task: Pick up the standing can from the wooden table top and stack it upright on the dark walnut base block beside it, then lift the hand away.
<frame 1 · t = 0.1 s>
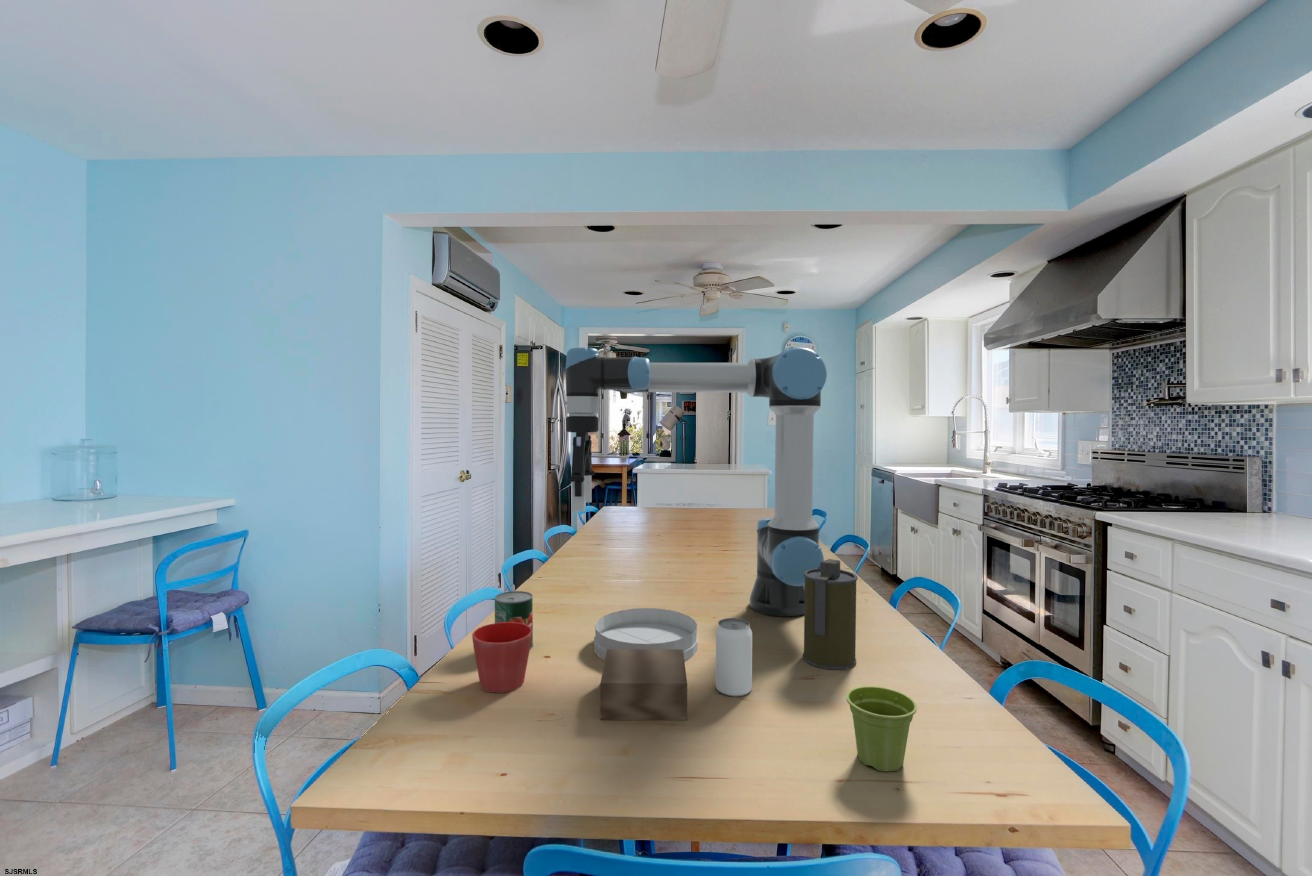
hand: (582, 506, 138), 28 cm above the table, tool pointing down, fingers open, 13 cm apart
can: (733, 690, 107), on the table
flower pot: (503, 684, 109), on the table
dish: (646, 648, 127), on the table
walnut base: (644, 699, 103), on the table
canister: (828, 660, 120), on the table
canned tomato: (513, 648, 126), on the table
plant pot: (879, 761, 85), on the table
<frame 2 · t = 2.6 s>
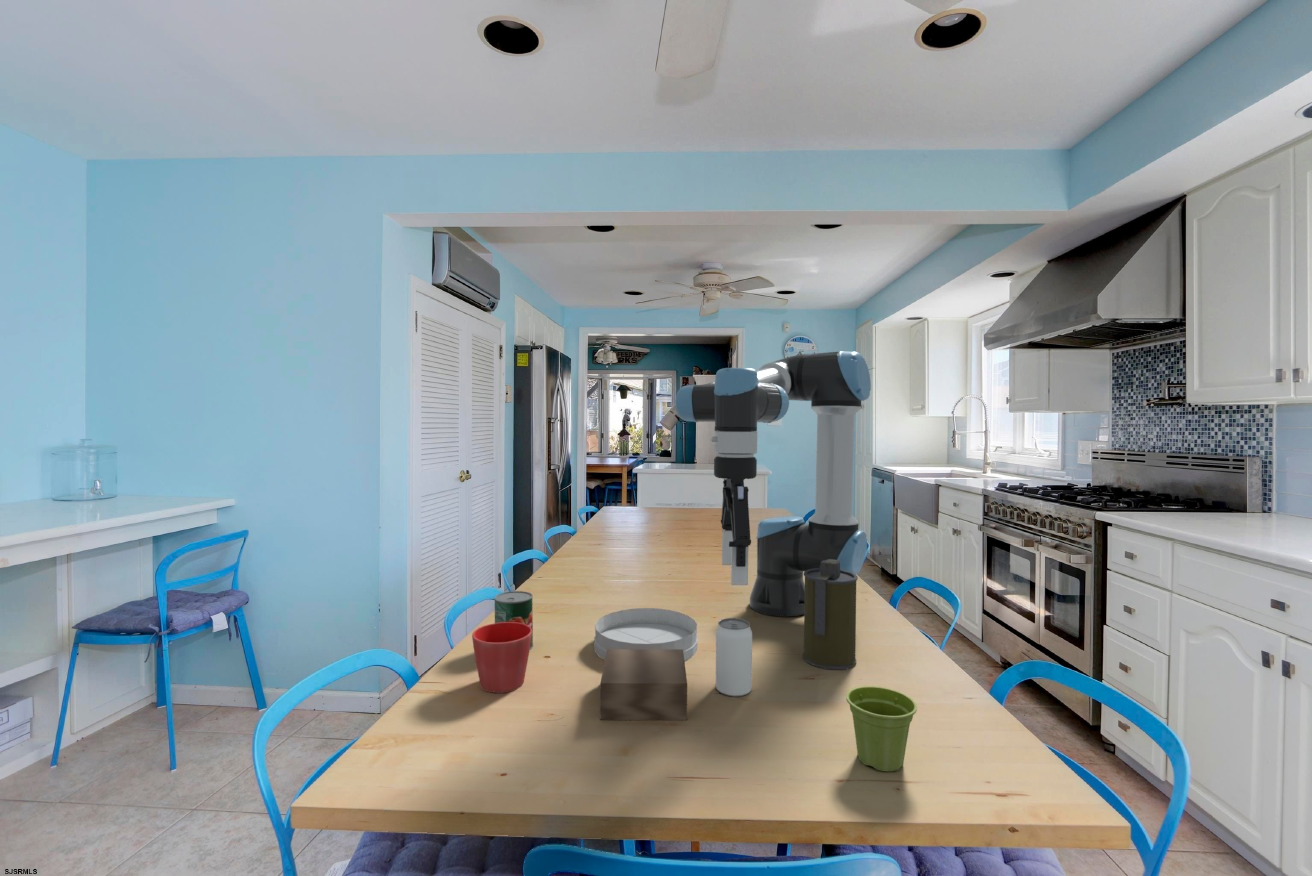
hand: (734, 574, 106), 21 cm above the table, tool pointing down, fingers open, 13 cm apart
nothing on the table moved.
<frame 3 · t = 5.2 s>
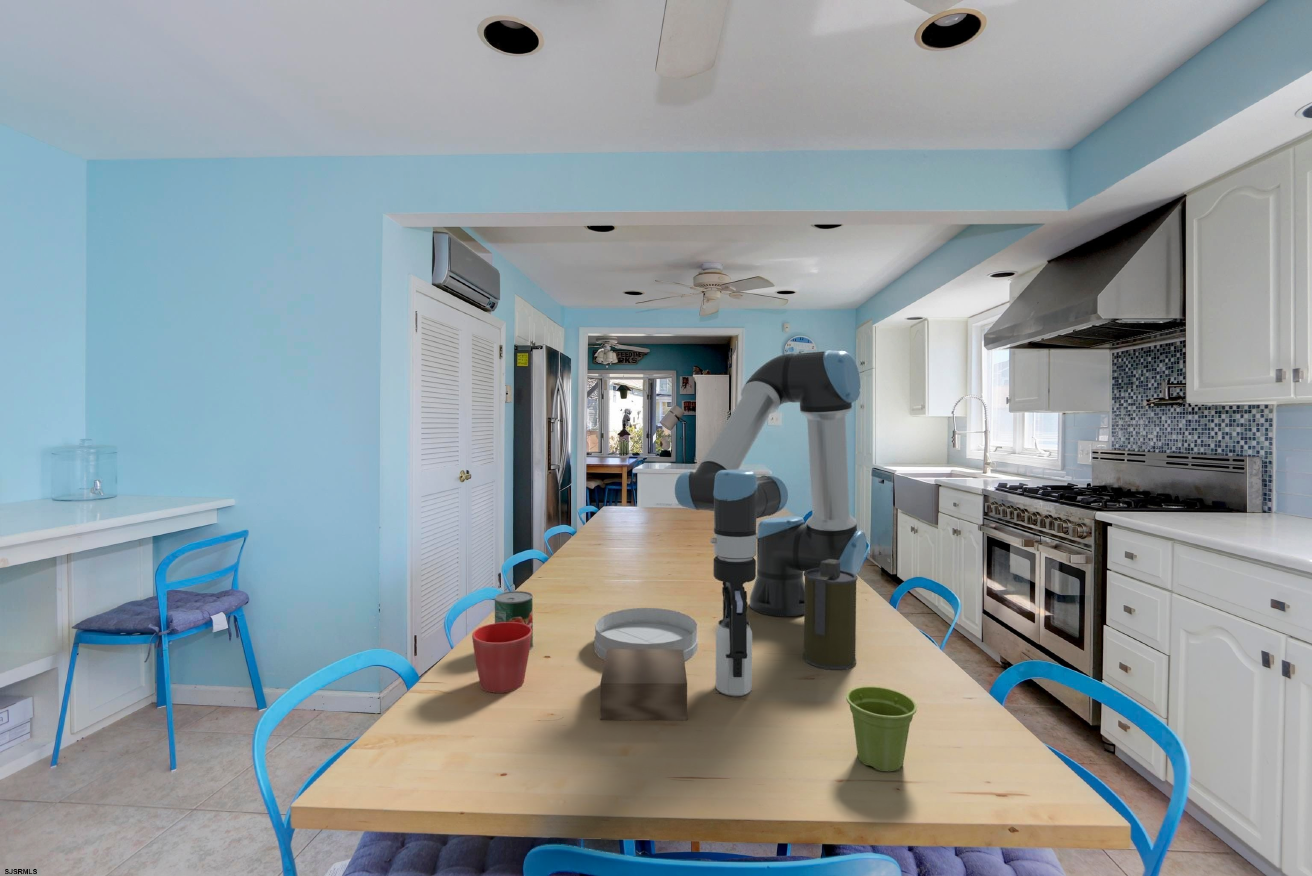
hand: (733, 683, 107), 1 cm above the table, tool pointing down, fingers closed on can, 6 cm apart
can: (733, 690, 107), on the table, touching gripper
everything else where it was.
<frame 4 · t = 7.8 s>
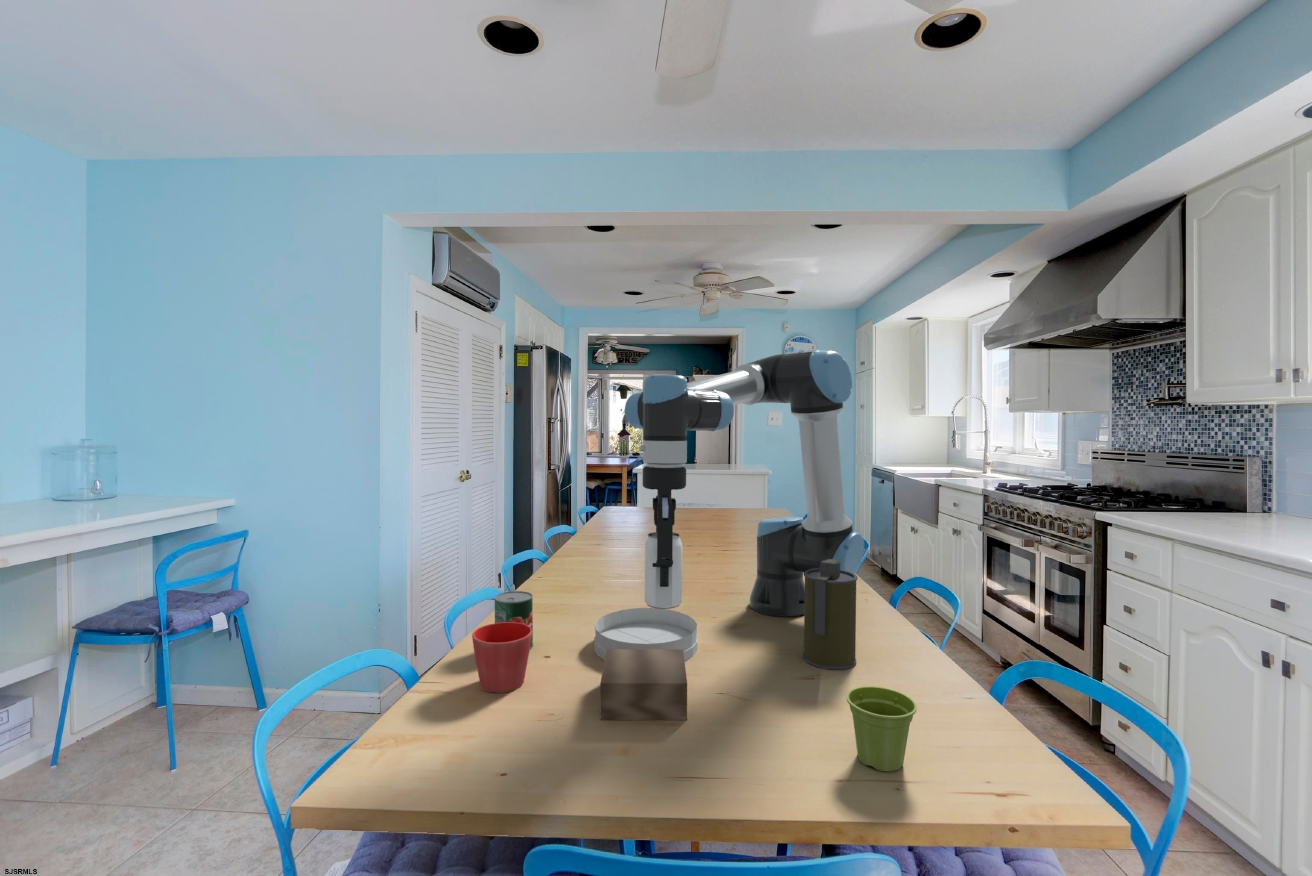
hand: (663, 598, 103), 18 cm above the table, tool pointing down, fingers closed on can, 6 cm apart
can: (663, 604, 103), point 16 cm above the table, touching gripper
everything else where it was.
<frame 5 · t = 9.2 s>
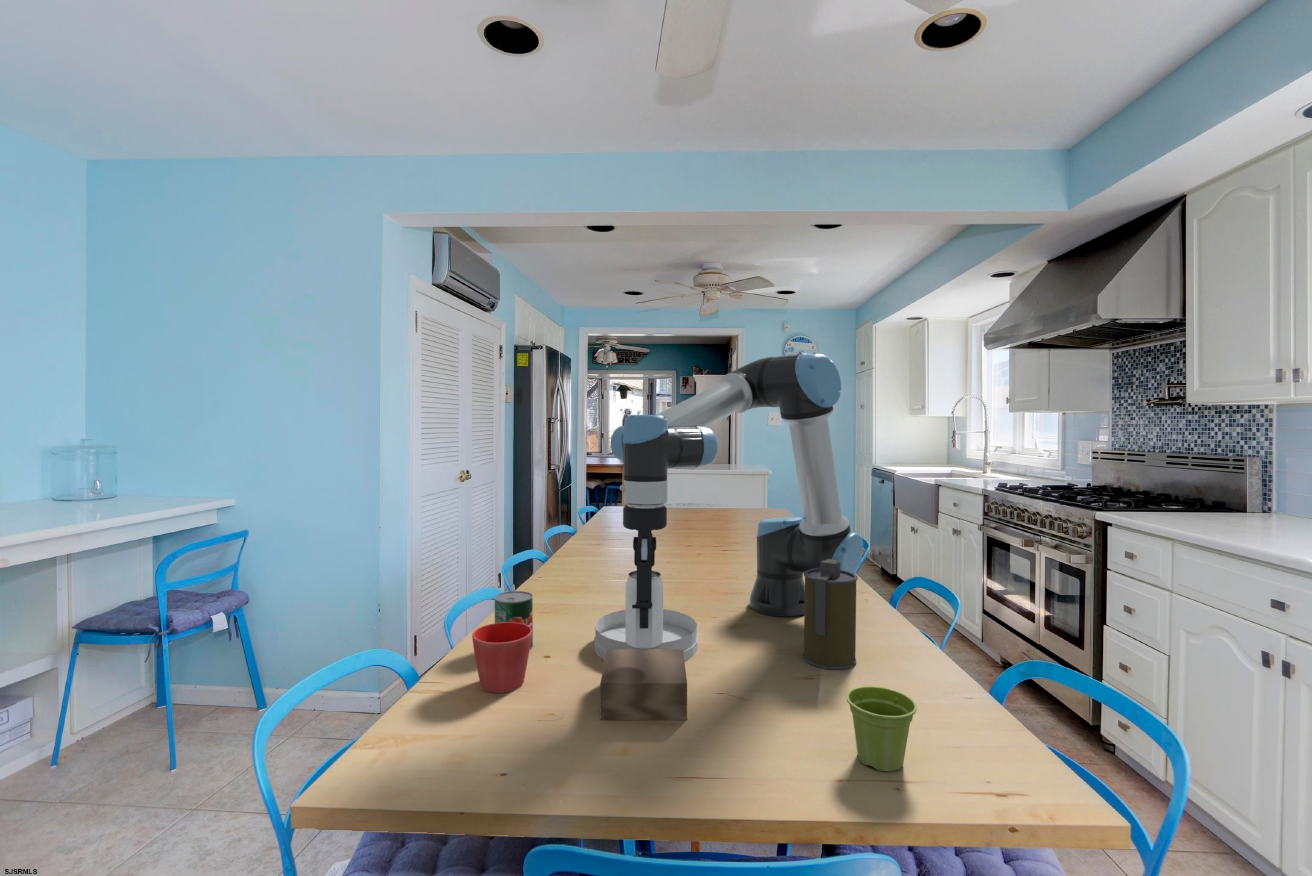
hand: (644, 637, 102), 11 cm above the table, tool pointing down, fingers closed on can, 6 cm apart
can: (644, 644, 102), point 10 cm above the table, touching gripper
everything else where it was.
when the fingers open (8 cm above the table, at t = 10.4 s): can drops 1 cm, resting on walnut base.
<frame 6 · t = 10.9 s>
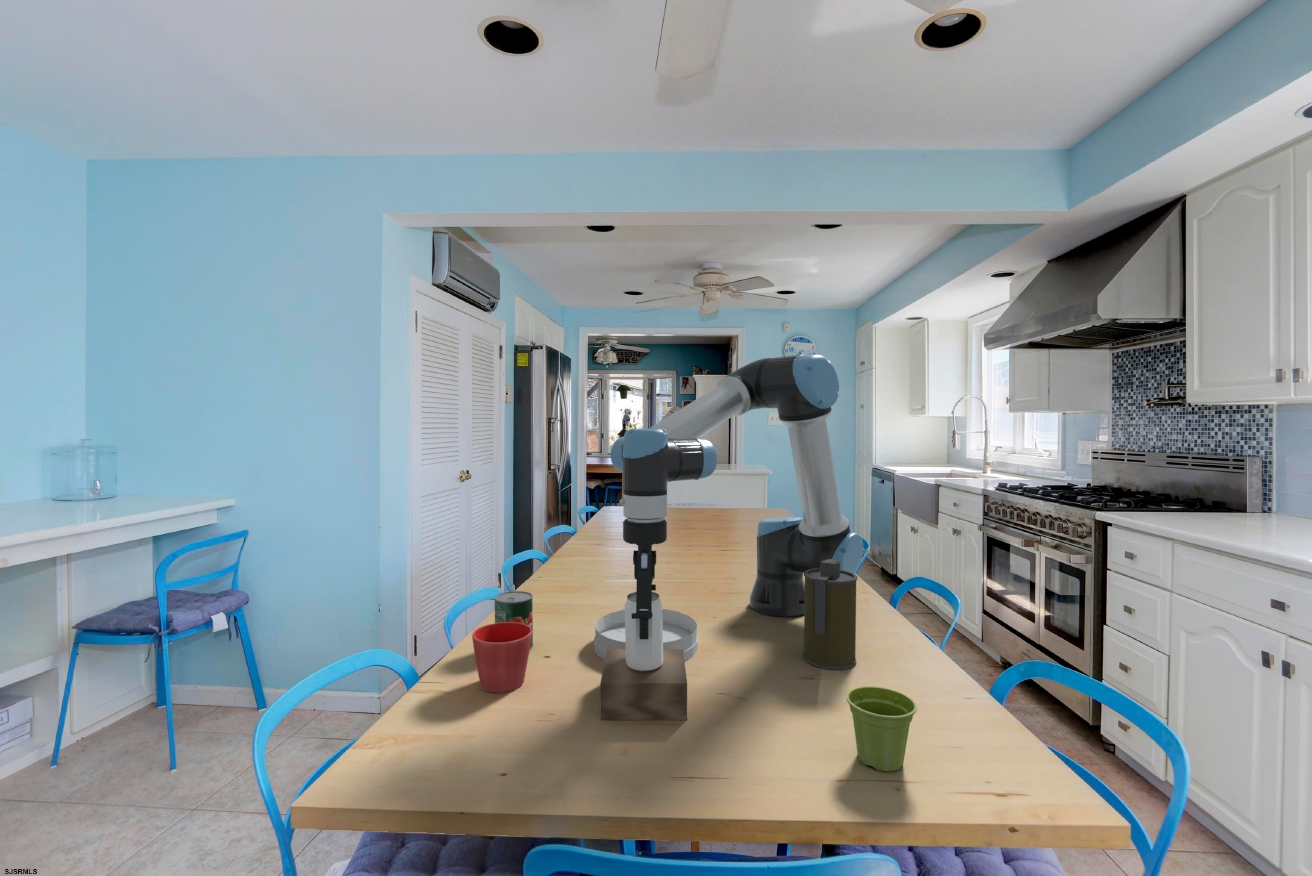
hand: (644, 641, 102), 10 cm above the table, tool pointing down, fingers open, 13 cm apart
can: (644, 665, 103), point 6 cm above the table, touching walnut base
everything else where it was.
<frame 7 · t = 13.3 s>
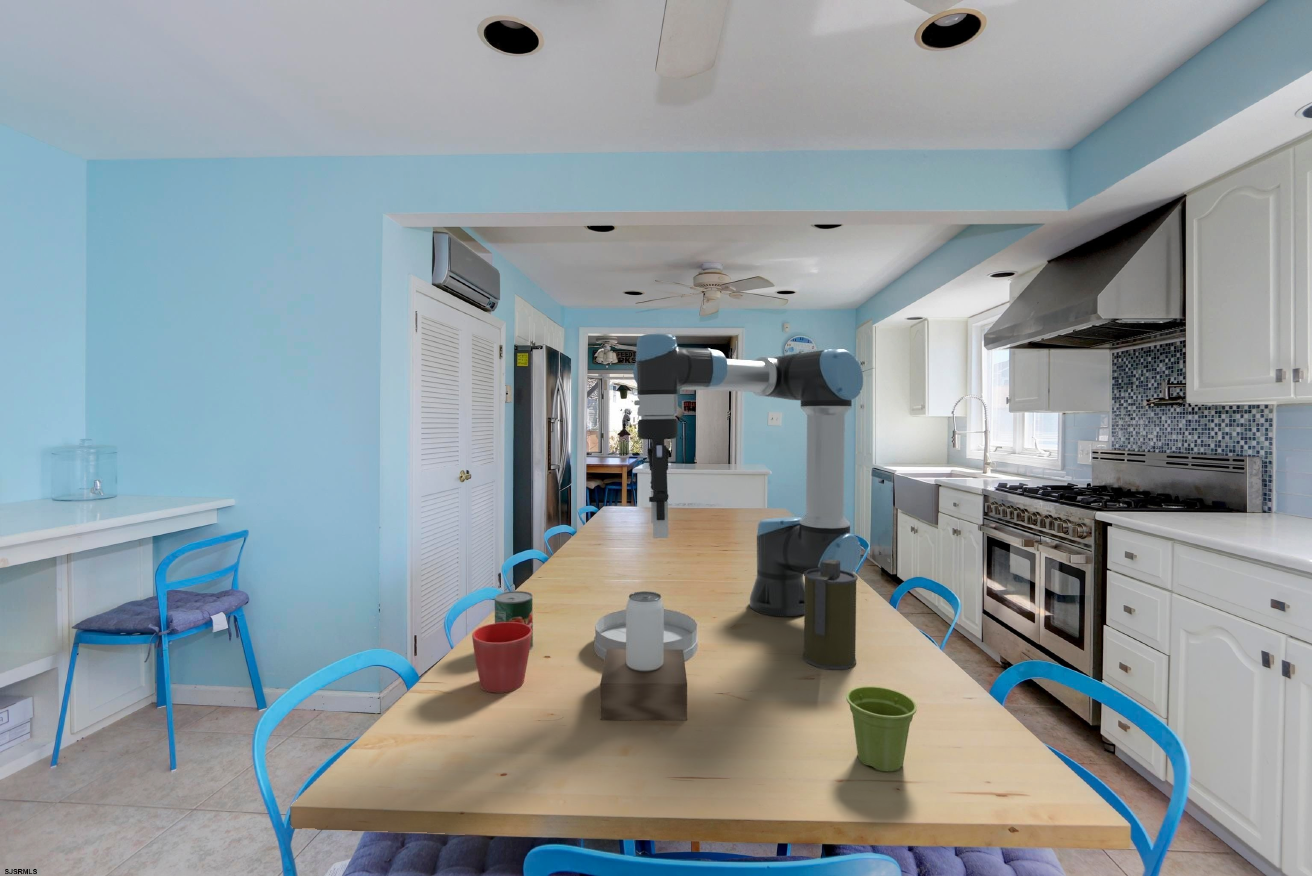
hand: (659, 530, 112), 27 cm above the table, tool pointing down, fingers open, 13 cm apart
nothing on the table moved.
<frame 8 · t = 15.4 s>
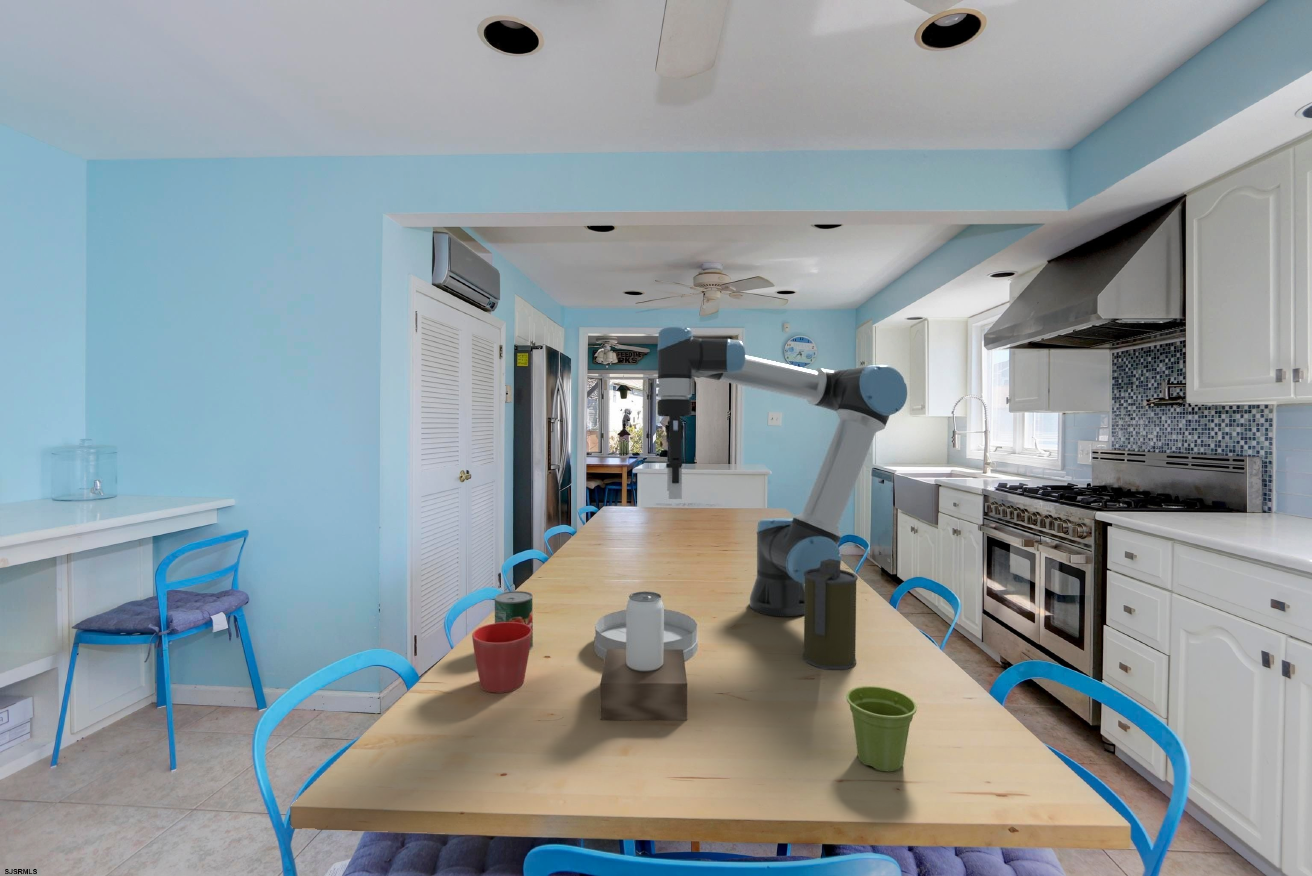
hand: (674, 494, 132), 32 cm above the table, tool pointing down, fingers open, 13 cm apart
nothing on the table moved.
at the end: can inside the target area on the walnut base (0.1 cm from its centre), point 5.8 cm above the walnut base's base; can tilted 0°; the gripper is holding nothing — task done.
